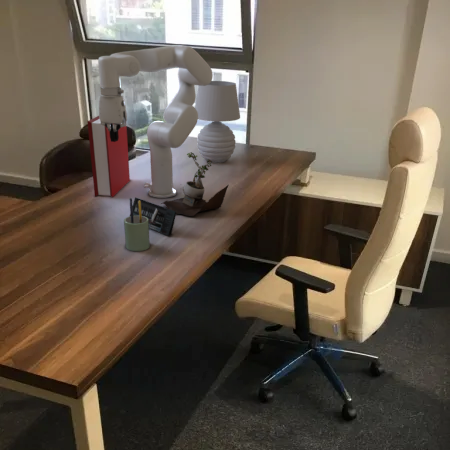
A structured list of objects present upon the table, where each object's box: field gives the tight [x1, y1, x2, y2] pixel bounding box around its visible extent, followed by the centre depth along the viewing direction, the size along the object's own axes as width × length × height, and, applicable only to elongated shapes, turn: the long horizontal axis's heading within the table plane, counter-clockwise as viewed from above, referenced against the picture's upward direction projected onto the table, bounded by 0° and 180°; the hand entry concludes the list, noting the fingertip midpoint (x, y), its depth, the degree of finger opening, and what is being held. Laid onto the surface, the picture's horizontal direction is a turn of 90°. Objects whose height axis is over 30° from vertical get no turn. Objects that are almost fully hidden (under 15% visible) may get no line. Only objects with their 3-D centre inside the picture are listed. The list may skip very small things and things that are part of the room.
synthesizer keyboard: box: [129, 197, 177, 237], centre depth 197 cm, size 22×10×10 cm
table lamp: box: [194, 80, 241, 163], centre depth 279 cm, size 25×25×40 cm
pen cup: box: [123, 197, 151, 252], centre depth 179 cm, size 8×8×18 cm
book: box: [87, 115, 131, 198], centre depth 233 cm, size 27×8×32 cm, turn 172°
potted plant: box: [160, 151, 230, 217], centre depth 214 cm, size 20×19×25 cm
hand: (114, 141), depth 206 cm, fingers closed
